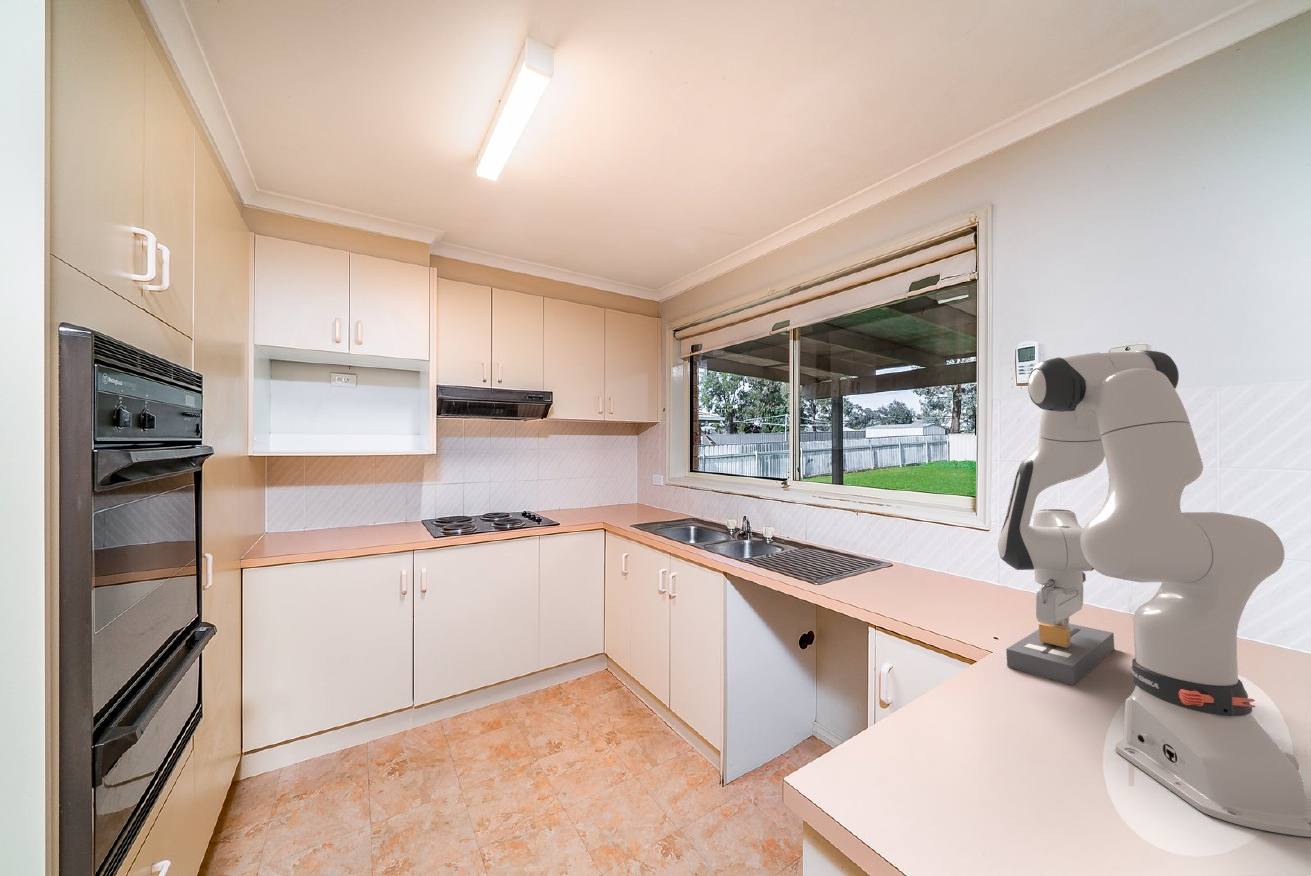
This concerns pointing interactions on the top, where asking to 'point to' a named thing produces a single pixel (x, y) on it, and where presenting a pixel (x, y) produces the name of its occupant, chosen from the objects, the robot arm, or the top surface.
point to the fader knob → (1055, 634)
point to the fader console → (1062, 654)
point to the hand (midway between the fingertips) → (1061, 635)
